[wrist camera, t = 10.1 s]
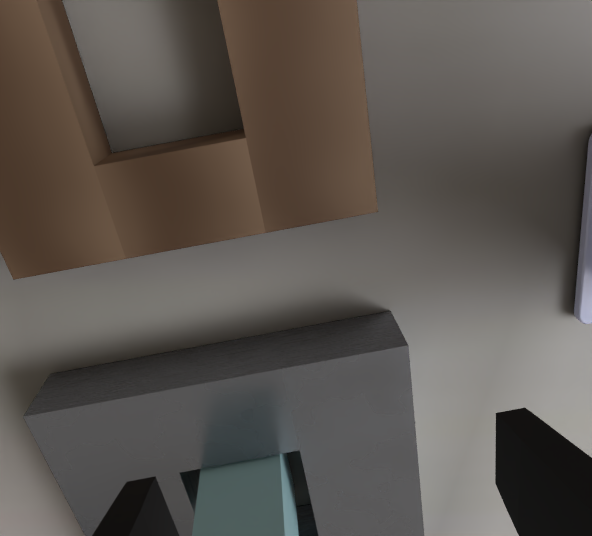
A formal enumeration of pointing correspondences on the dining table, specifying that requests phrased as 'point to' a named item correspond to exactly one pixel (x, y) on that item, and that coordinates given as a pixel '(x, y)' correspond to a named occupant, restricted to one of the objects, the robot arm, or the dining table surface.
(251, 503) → the plug
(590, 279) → the robot arm
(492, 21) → the dining table surface
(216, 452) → the port plate
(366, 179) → the brown square frame
